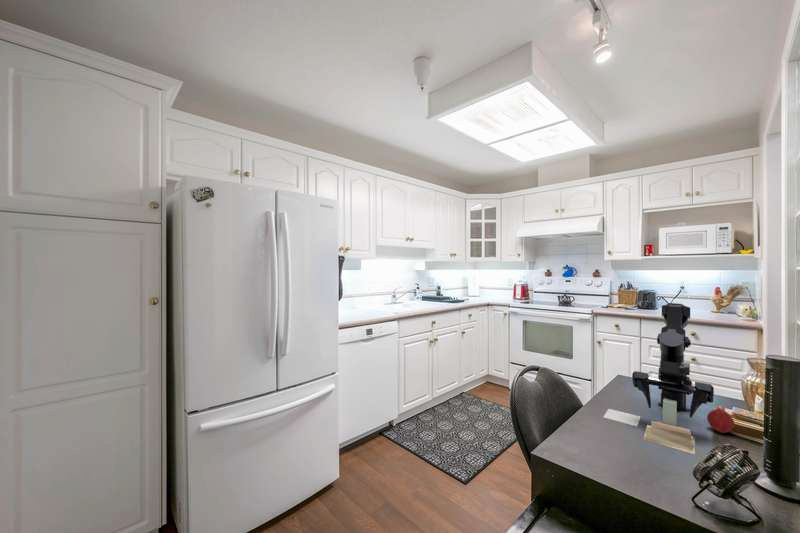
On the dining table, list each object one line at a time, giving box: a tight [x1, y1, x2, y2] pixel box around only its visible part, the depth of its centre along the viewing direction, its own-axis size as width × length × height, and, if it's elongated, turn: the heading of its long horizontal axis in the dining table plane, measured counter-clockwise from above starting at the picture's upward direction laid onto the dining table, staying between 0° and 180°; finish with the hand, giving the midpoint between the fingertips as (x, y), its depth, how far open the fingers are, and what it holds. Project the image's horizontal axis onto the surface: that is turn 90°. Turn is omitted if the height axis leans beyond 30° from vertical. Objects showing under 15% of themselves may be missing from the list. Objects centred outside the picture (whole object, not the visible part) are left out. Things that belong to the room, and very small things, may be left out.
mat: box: [603, 408, 641, 427], centre depth 109 cm, size 9×9×1 cm
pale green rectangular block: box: [662, 398, 678, 427], centre depth 97 cm, size 3×3×10 cm
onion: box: [706, 405, 735, 434], centre depth 100 cm, size 6×6×8 cm
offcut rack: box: [642, 420, 696, 455], centre depth 95 cm, size 12×11×5 cm
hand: (669, 412), depth 96 cm, fingers open, 9 cm apart
